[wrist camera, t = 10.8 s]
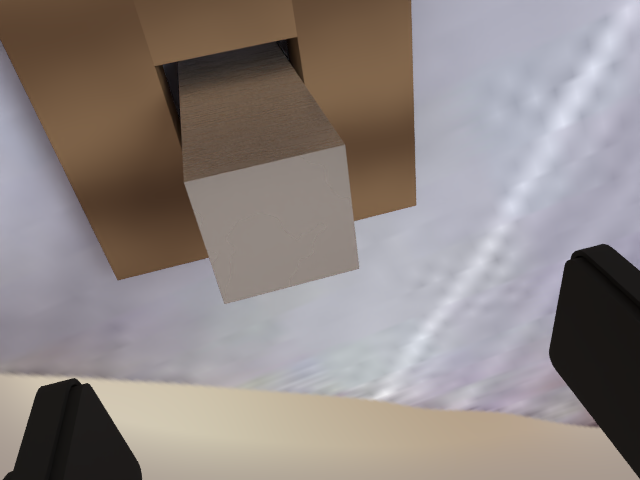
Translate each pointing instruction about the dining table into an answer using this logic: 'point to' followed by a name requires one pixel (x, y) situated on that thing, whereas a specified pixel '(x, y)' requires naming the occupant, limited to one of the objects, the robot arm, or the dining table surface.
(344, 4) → the walnut bore plate
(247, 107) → the steel square peg
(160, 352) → the dining table surface
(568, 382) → the robot arm
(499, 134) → the dining table surface
